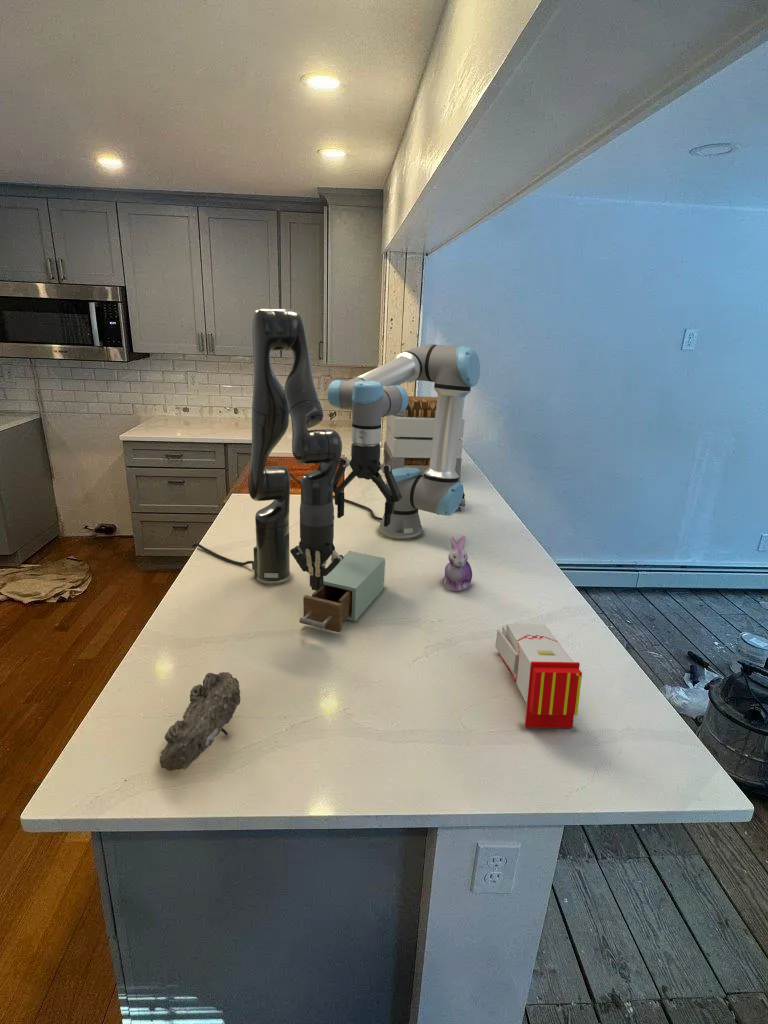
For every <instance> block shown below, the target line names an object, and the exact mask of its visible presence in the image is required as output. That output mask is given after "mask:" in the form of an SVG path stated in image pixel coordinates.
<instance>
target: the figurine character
mask: <svg viewBox="0 0 768 1024" xmlns="http://www.w3.org/2000/svg"><path fill="white" fill-rule="evenodd" d="M465 496H466V494H465V492H463V497H462V500H461V503H460V505H459V507H458V508H457V510H458V511H461V510H462V509H461V508H465V505H466V497H465Z"/></svg>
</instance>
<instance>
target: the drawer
mask: <svg viewBox="0 0 768 1024" xmlns="http://www.w3.org/2000/svg"><path fill="white" fill-rule="evenodd" d="M302 598H303V599H302V600H303V602H302V603H303V604H302V605H303V608H302V609H303V616H302V617H300V618H299V623H300V624H303V625H307V626H311V627H314V628H319V629H322V630H326V631H327V630H328V631H330V632H334V633H341V631H342V625H343V624H344V622H345V621H346V620H347V618H348V617H349V616H350V614H351V613H352V591H350V590H346V589H341V588H337V587H332V586H328V585H324V584H323V587H322V588H321V589H320V590H318V591H316V590H314V592H312V593H311V595H308V594H305V595H304V596H303V597H302Z"/></svg>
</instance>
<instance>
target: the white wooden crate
mask: <svg viewBox="0 0 768 1024" xmlns="http://www.w3.org/2000/svg"><path fill="white" fill-rule="evenodd" d="M399 386H401V385H399ZM437 398H438V396H415V395H414V396H413V395H412V396H411V395H408V399H409V401H408V405H407V407H406V409H405V410H404V411H402V412H400V413H397V414H395V415H389V416H385V423H386V428H385V438H384V442H383V464H382V465H387V464H391V465H392V470H393V469H398V468H405V466H406V467H408V466H411V467H415V466H416V467H417V466H418V467H429V464H430V456H431V448H432V440H433V431H434V423H435V415H436V407H437ZM464 429H465V419H464V418H462V422H461V429H460V437H459V444H458V452H457V459H456V467H455V471H456V473H457V474H458V475H459V479H458V482H460V483H461V472H462V461H463V460H462V453H463V442H464V441H463V440H462V439H463V438H464V431H465V430H464Z"/></svg>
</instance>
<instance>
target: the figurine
mask: <svg viewBox="0 0 768 1024" xmlns="http://www.w3.org/2000/svg"><path fill="white" fill-rule="evenodd" d="M449 539H450V540H449V541H450V551H449V553H448V561H449V562H448V563H447V564H446V565H445V566H444V577H443V585H444V586H445V588H446V589H447V590H449V591H452V592H461V591H463V590H464V591H465V590H467V589H468V588H469V587H470V586H471V582H472V580H473V569H472V567H471V565H470V563H469V561H468V559H469V556H468V553H467V550H466V548H465V544H466V535H465V534H463V535H462V536H461V537H460V538H459V540H458V541H457V540H456V538H455V536H453V535H451V536H450V537H449Z"/></svg>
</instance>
